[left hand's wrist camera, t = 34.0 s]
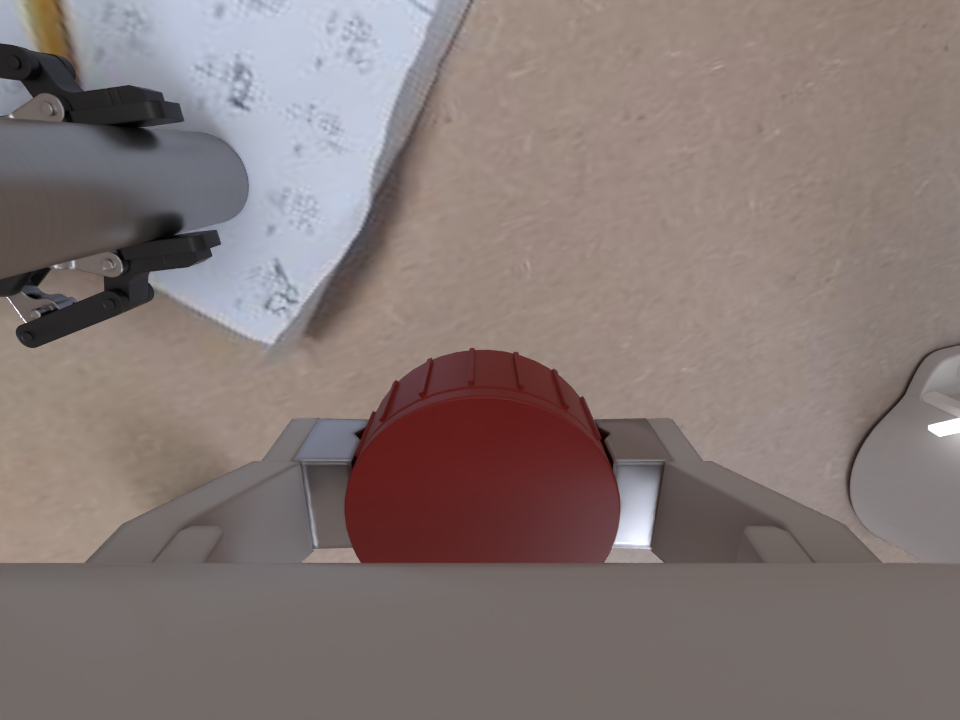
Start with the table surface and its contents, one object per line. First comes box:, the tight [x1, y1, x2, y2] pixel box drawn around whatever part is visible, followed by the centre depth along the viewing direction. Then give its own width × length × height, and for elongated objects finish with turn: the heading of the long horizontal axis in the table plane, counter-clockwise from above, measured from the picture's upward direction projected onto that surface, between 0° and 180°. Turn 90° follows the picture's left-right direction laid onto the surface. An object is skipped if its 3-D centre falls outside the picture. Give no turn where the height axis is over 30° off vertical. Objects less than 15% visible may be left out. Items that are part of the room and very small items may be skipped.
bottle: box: [0, 117, 248, 279], centre depth 18 cm, size 5×5×24 cm
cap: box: [344, 348, 621, 563], centre depth 9 cm, size 4×4×2 cm
